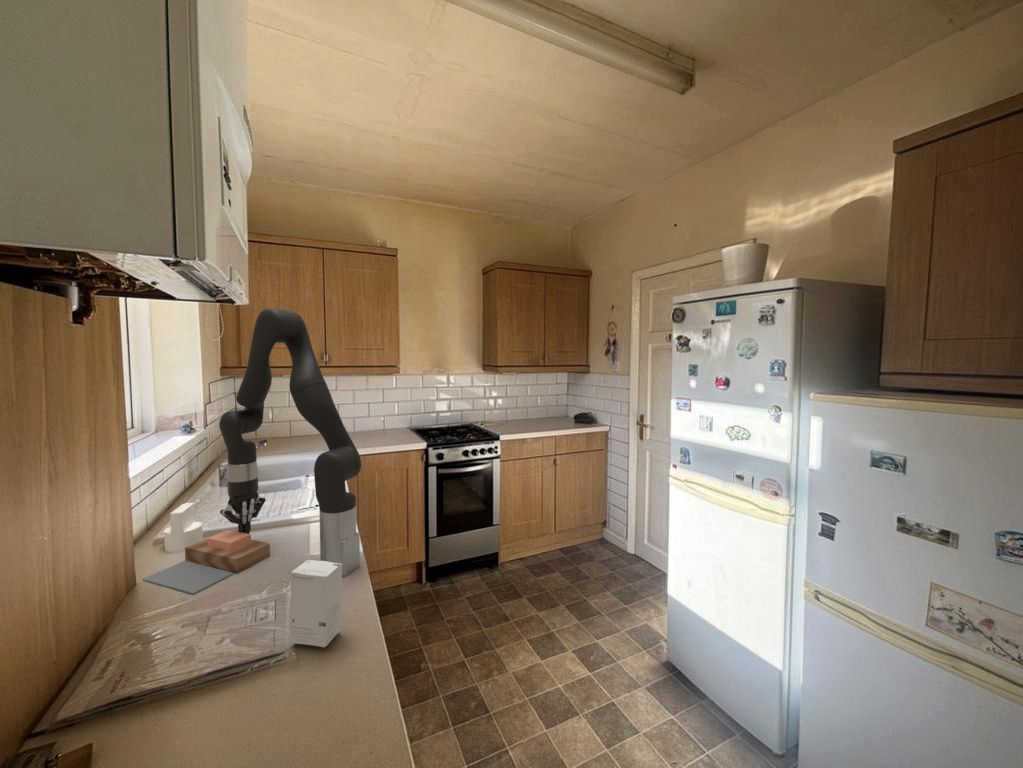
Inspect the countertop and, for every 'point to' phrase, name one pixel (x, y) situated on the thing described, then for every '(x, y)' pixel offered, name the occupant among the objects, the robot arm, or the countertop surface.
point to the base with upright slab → (182, 529)
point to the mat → (188, 577)
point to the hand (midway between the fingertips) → (244, 534)
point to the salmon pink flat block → (229, 540)
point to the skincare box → (315, 603)
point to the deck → (228, 555)
